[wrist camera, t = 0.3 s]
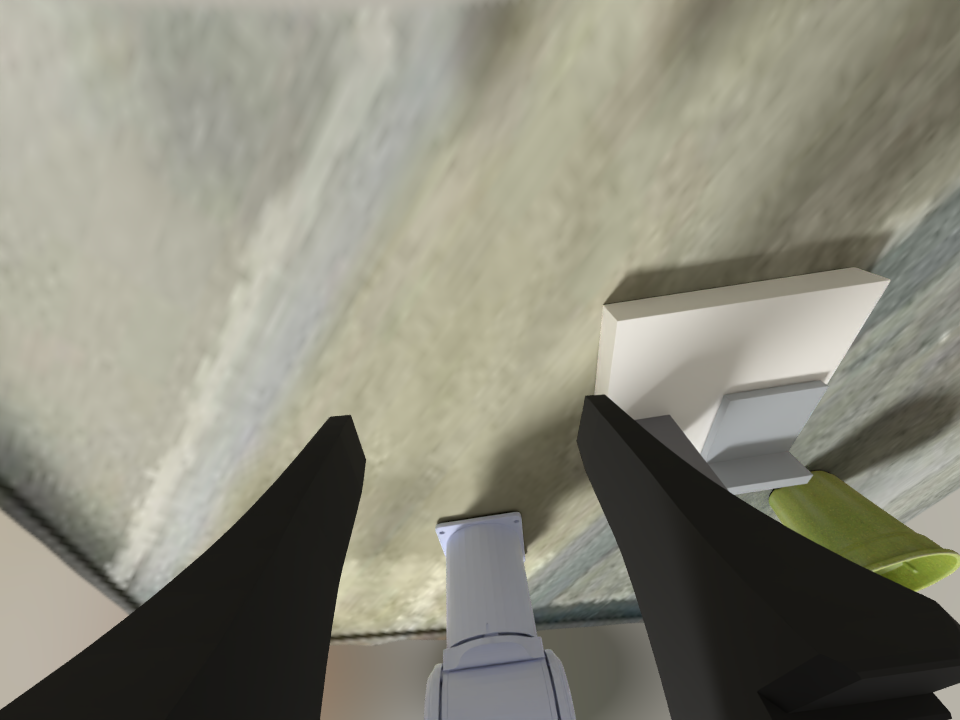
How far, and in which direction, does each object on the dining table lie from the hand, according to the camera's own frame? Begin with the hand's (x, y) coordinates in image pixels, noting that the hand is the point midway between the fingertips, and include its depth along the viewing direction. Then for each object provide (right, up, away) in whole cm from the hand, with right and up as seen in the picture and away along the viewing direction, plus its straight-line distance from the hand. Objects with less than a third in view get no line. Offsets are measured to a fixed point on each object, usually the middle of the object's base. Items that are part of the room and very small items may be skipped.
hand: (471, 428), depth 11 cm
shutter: (+20, -3, +14) cm, 24 cm away
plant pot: (+32, -11, +23) cm, 41 cm away
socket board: (+16, 0, +14) cm, 21 cm away
